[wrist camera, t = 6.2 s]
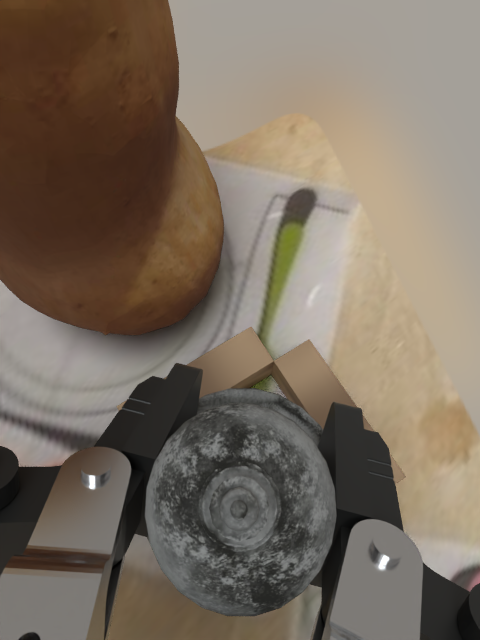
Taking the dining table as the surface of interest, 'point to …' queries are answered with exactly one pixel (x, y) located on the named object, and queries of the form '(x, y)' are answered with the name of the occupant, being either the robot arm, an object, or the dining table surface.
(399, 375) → the dining table surface
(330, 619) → the robot arm
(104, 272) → the butternut squash
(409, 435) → the dining table surface
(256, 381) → the v block
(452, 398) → the dining table surface
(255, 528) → the salt shaker
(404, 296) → the dining table surface
